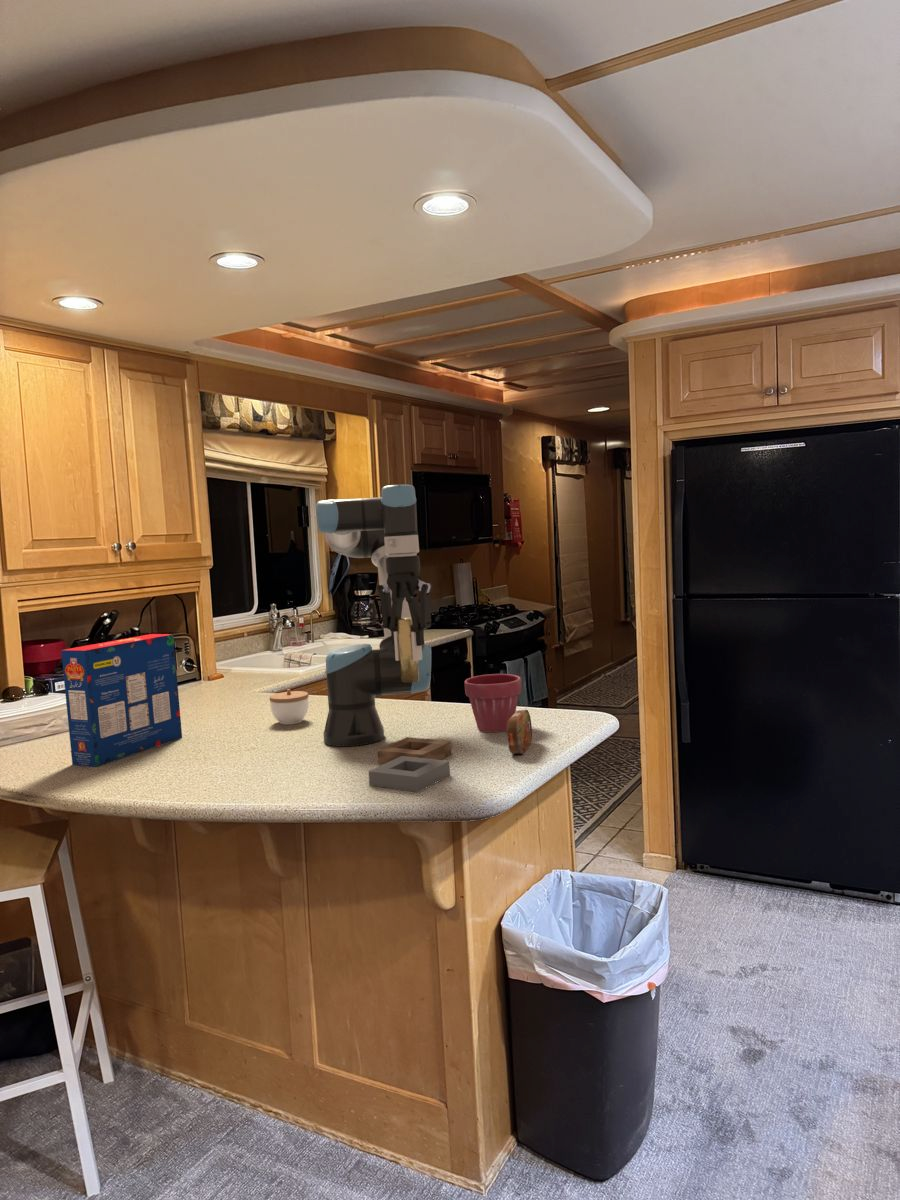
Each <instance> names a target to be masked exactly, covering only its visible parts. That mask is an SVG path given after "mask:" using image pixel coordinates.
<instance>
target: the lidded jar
mask: <svg viewBox="0 0 900 1200" xmlns="http://www.w3.org/2000/svg"><path fill="white" fill-rule="evenodd" d="M269 702H270V704H269V705H270V709H271V713H272V715H273V717H274V718H275V720H276V721H278V722H279V724H280V725H283V726H284V725H296V724H297V725H298V724H300V723H302V722H303V720H304V719H305V717H306V716H307V714H308V711H309V703H310V702H309V693H308V692H307V691H302V690H295V691H294V690H293V691H292V690H291V688H287V689H286V691H284V692H283V691H282V692H279V693H278V692H277V693H274V694H271V695H270V696H269Z"/></svg>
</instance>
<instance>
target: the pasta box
mask: <svg viewBox="0 0 900 1200" xmlns="http://www.w3.org/2000/svg"><path fill="white" fill-rule="evenodd" d="M60 652H61V663H62V671H63V685H64V693H65V702H66V703H65V705H66V713H67V722H68V723H67V724H68V735H69V743H70V753H71V754H70V755H71V763H72V765H73V766H79V767H81V766H82V767H90V768H98V767H101V766H103V765H106V764H109V763H113V762H115V761H118V760H119V761H120V760H121V759H124V758H127V757H130V756H133V755H135V754H138V753H141V752H146V751H147V750H151V749H154V748H156V747H160V746H162V745H166V744H168V743H171V742H174V741H177V740H181V739H183V732H182V720H181V718H182V717H181V711H180V710H181V708H180V698H179V697H180V696H179V687H178V674H177V663H176V654H175V653H176V650H175V640H174V634H173V633H170V634H169V633H163V634H162V633H149V634H144V635H140V636H133V637H128V638H127V637H126V638H121V639H116V640H112V641H111V640H110V641H106V642H101V643H95V644H88V645H82V646H76V647H72V648H67V649H61V650H60Z"/></svg>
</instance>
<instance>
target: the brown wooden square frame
mask: <svg viewBox="0 0 900 1200" xmlns="http://www.w3.org/2000/svg"><path fill="white" fill-rule="evenodd" d="M376 751H377V764H379V765H380V764H381V765H383V764H385V763H387V762H389V761H392V760H394V759H396V758H398V757H400V756H408V757H418V758H427V759H436V760H443V759H445V758H447V757H449V756H451V755H452V754H453V753H452V751H453V750H452V741H451V740H441V739H432V738H431V739H429V738H420V737H409V736H407V737H404V738H402V739H400V740H398V741H395V742H393V743H390V744H389V745H386V746H384V747H381V748H379V749H377V750H376Z"/></svg>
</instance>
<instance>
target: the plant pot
mask: <svg viewBox="0 0 900 1200" xmlns="http://www.w3.org/2000/svg"><path fill="white" fill-rule="evenodd" d="M521 679H522V678H521V676H519V675H516V674H510V673H509V674H507V673H491V674H481V675H476V676H472V677H469V678H466V679H465V680H464V692H465V693H464V694H465V695H466V697H468V698H469V702H470V705H471V710H472V714H473V717H474V719H475V723H476V727H477V729H478V730H479V731H481V732H484V733H498V732H499V733H500V732H507V723H508V720H509V718H510V717H511V716H512V715H513V714H514V713H515V712H516V711H517V706H518V699H519V695H520V694H521V693H522V680H521Z"/></svg>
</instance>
